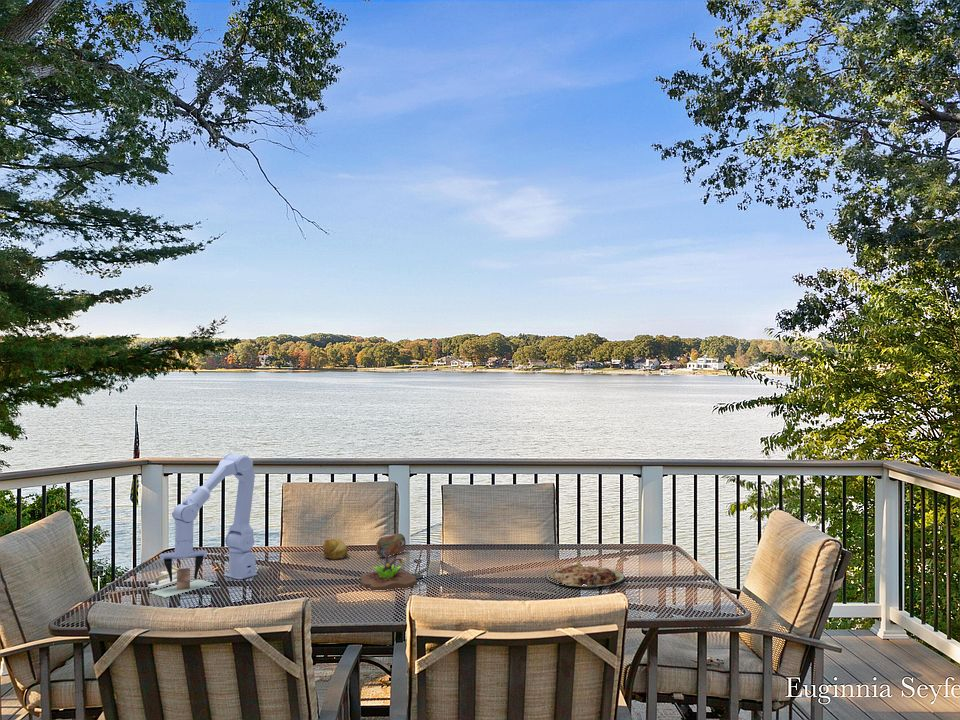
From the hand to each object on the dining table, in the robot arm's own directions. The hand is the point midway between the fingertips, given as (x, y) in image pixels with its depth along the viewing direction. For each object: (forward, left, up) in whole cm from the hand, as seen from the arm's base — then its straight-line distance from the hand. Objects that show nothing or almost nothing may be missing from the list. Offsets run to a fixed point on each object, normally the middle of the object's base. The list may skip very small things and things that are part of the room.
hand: (183, 579), depth 243 cm
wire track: (+15, -2, -3) cm, 15 cm away
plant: (-51, -46, -4) cm, 69 cm away
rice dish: (-107, -91, -4) cm, 140 cm away
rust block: (0, 0, -3) cm, 3 cm away
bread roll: (-9, -62, -3) cm, 63 cm away
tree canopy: (-26, -77, -3) cm, 81 cm away
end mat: (0, 0, -3) cm, 3 cm away
